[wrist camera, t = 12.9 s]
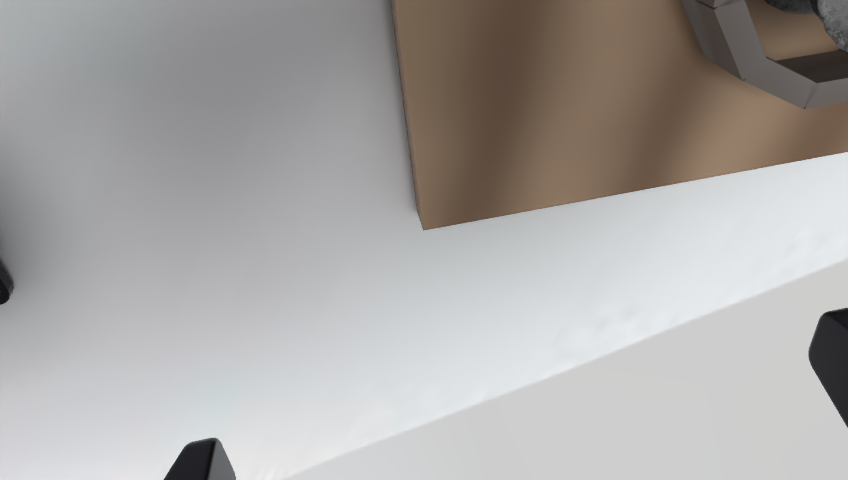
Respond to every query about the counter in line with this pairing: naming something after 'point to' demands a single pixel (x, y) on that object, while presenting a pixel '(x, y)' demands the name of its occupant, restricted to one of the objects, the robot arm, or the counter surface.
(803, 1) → the salt shaker
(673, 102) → the board
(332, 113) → the counter surface
